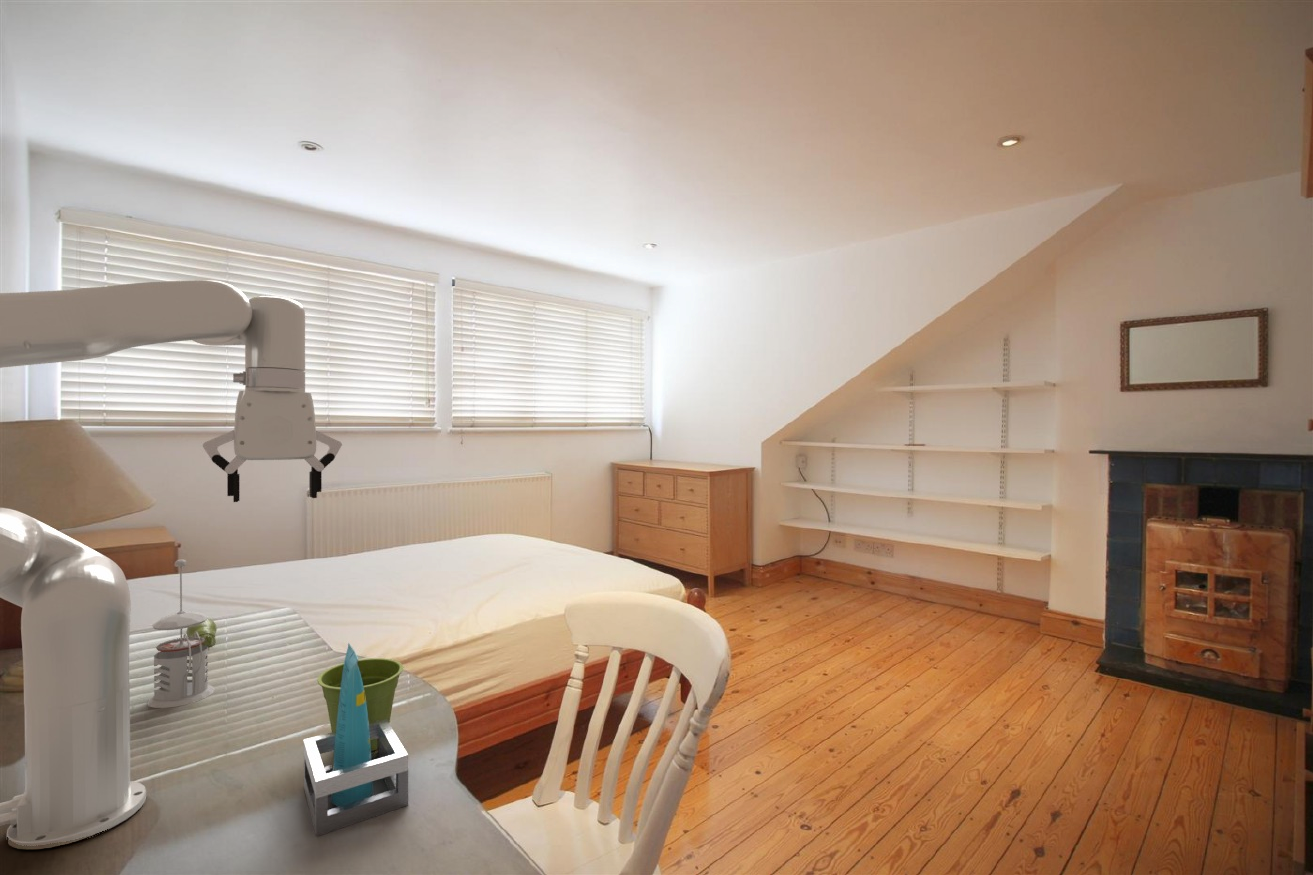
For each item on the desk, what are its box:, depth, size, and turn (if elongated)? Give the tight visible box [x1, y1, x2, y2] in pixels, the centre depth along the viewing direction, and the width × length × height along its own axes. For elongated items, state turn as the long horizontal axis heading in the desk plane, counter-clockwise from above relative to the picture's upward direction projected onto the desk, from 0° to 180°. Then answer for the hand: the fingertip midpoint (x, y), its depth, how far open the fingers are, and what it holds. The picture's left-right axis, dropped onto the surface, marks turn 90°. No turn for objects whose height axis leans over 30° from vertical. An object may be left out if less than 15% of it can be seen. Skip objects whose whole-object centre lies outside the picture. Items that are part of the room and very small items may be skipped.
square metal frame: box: [303, 719, 409, 837], centre depth 81 cm, size 10×12×6 cm
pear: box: [185, 618, 217, 648], centre depth 141 cm, size 6×5×10 cm
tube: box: [331, 642, 374, 807], centre depth 81 cm, size 7×5×19 cm, turn 40°
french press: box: [146, 558, 216, 709], centre depth 112 cm, size 10×12×25 cm
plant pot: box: [317, 657, 404, 752], centre depth 94 cm, size 12×12×11 cm
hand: (275, 499), depth 90 cm, fingers open, 9 cm apart
